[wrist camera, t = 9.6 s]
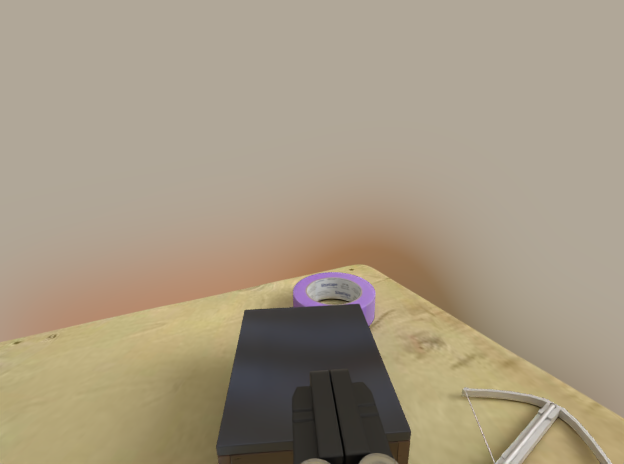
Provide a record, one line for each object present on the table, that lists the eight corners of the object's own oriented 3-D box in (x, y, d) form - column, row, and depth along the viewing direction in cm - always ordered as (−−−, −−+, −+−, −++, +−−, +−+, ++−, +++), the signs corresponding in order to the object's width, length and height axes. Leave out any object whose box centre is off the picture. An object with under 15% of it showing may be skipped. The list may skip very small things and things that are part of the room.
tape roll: (385, 333, 45) (386, 307, 44) (297, 340, 44) (296, 314, 43) (362, 291, 56) (363, 269, 55) (291, 296, 55) (290, 274, 54)
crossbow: (487, 379, 38) (490, 364, 38) (638, 465, 29) (645, 446, 28) (394, 457, 29) (396, 438, 28) (574, 624, 19) (584, 600, 18)
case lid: (245, 316, 37) (244, 309, 37) (359, 309, 38) (359, 303, 38) (217, 456, 22) (215, 446, 22) (410, 440, 23) (411, 431, 22)
